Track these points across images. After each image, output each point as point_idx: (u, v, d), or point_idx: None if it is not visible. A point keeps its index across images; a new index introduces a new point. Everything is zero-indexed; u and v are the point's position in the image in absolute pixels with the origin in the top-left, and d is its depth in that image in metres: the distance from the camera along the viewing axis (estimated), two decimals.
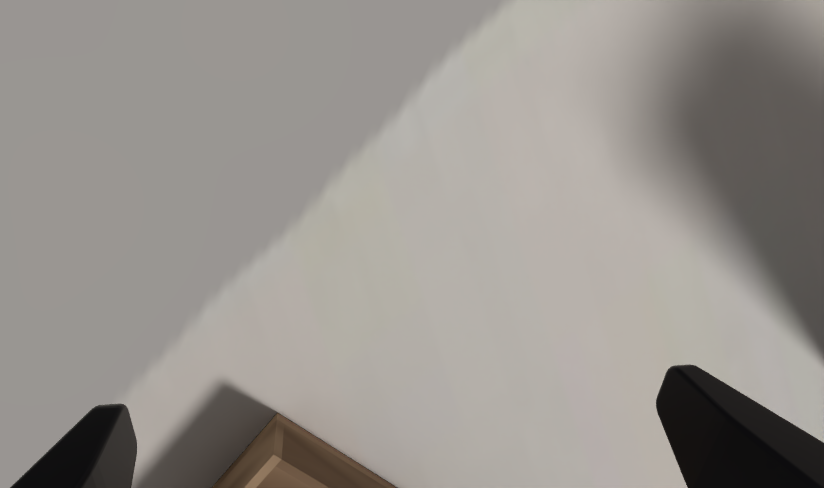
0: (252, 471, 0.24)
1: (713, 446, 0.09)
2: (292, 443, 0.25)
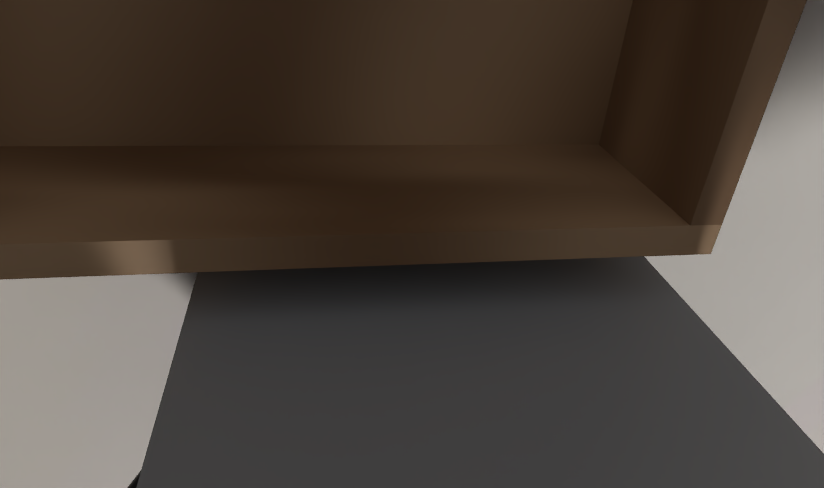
0: None
1: None
2: None
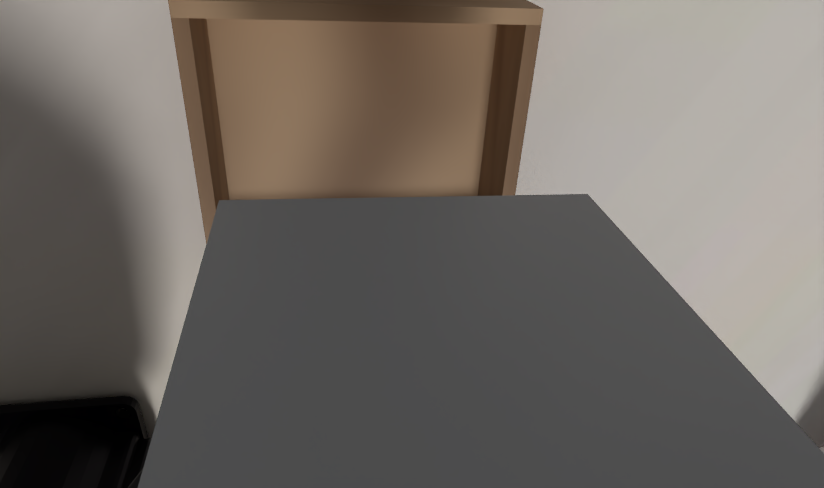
0: (485, 4, 0.15)
1: None
2: None
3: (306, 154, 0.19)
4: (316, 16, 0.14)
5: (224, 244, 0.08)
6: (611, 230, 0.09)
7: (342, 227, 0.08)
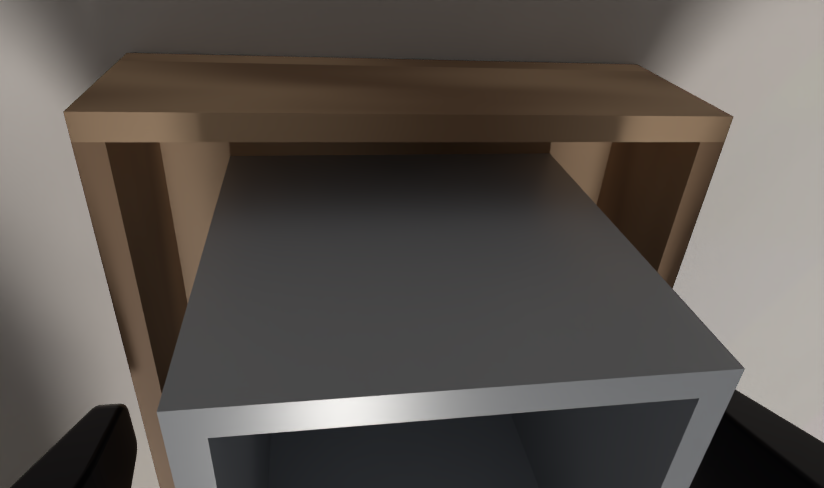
0: (630, 105, 0.09)
1: (713, 446, 0.09)
2: None
3: None
4: (341, 135, 0.08)
5: (236, 188, 0.09)
6: (566, 180, 0.10)
7: (335, 176, 0.10)
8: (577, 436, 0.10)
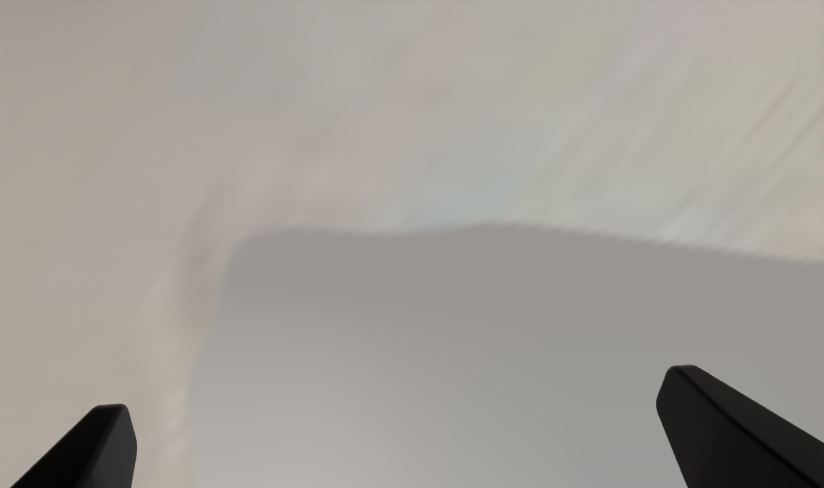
0: None
1: (713, 446, 0.09)
2: None
3: None
4: None
5: None
6: None
7: None
8: None
